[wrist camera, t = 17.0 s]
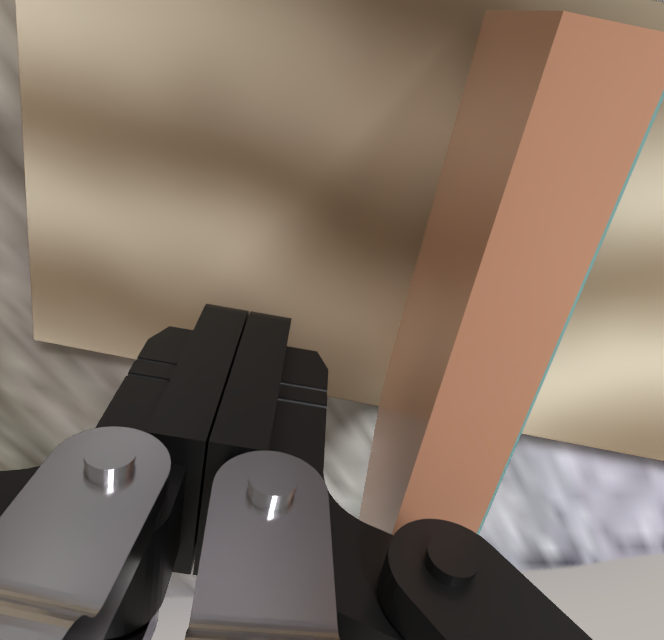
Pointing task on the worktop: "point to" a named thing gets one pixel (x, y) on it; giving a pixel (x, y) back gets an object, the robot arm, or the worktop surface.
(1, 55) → the worktop surface
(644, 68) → the tile
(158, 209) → the board
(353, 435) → the worktop surface
